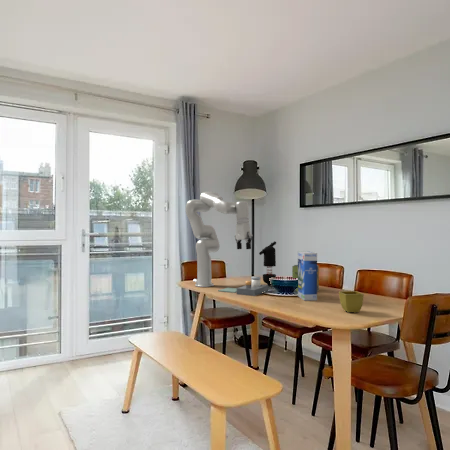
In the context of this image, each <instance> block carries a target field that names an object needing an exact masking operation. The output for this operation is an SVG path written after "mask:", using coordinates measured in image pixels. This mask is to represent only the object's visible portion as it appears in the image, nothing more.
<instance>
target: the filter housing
mask: <svg viewBox="0 0 450 450" xmlns="http://www.w3.org/2000/svg"><path fill="white" fill-rule="evenodd" d="M236 288H237V292H236V295H241V296H253V297H256V296H258V295H262V294H263V293H262V292H264V291H267V292H269V291H268V290H269V288H270V286H269V285H268V284H260V287H251V288H250V289H248V288H246V285H243V286H239V287H236ZM264 293H265V292H264Z"/></svg>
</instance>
